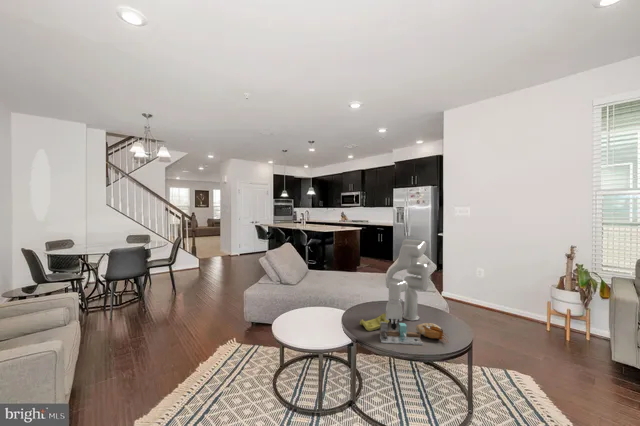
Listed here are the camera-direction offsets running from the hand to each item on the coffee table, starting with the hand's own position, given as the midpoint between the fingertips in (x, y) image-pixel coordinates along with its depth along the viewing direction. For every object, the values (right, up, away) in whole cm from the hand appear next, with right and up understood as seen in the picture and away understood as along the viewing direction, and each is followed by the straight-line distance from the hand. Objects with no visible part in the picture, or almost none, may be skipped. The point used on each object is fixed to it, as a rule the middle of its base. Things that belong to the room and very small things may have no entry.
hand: (393, 328), depth 176 cm
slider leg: (+5, -4, -4) cm, 8 cm away
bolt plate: (+3, -5, -7) cm, 9 cm away
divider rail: (+4, -5, -4) cm, 7 cm away
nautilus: (+25, -5, -2) cm, 25 cm away
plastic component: (-9, -5, +14) cm, 17 cm away
